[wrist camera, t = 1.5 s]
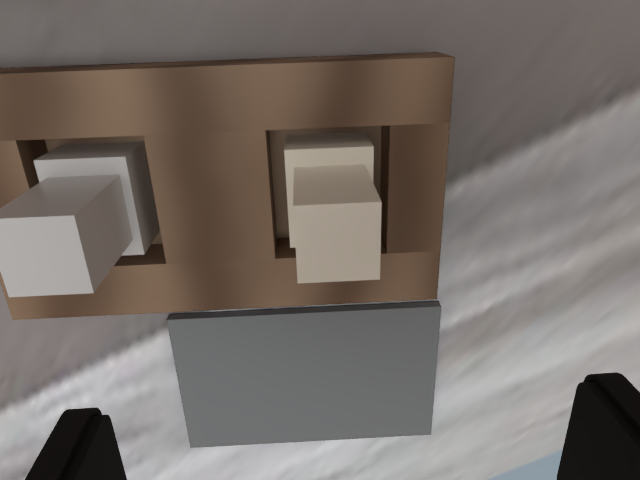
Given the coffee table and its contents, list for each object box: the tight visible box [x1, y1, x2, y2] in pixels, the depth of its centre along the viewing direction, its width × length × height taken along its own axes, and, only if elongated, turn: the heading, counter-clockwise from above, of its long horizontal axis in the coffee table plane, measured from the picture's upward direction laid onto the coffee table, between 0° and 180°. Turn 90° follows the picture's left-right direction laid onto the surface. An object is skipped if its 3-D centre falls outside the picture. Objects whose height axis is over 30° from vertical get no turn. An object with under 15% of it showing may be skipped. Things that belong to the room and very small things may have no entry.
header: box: [0, 52, 455, 320], centre depth 25 cm, size 22×12×3 cm, turn 92°
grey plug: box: [0, 141, 160, 297], centre depth 22 cm, size 4×5×8 cm
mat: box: [167, 301, 441, 448], centre depth 31 cm, size 16×10×1 cm, turn 92°
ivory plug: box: [284, 132, 382, 283], centre depth 22 cm, size 4×5×8 cm
